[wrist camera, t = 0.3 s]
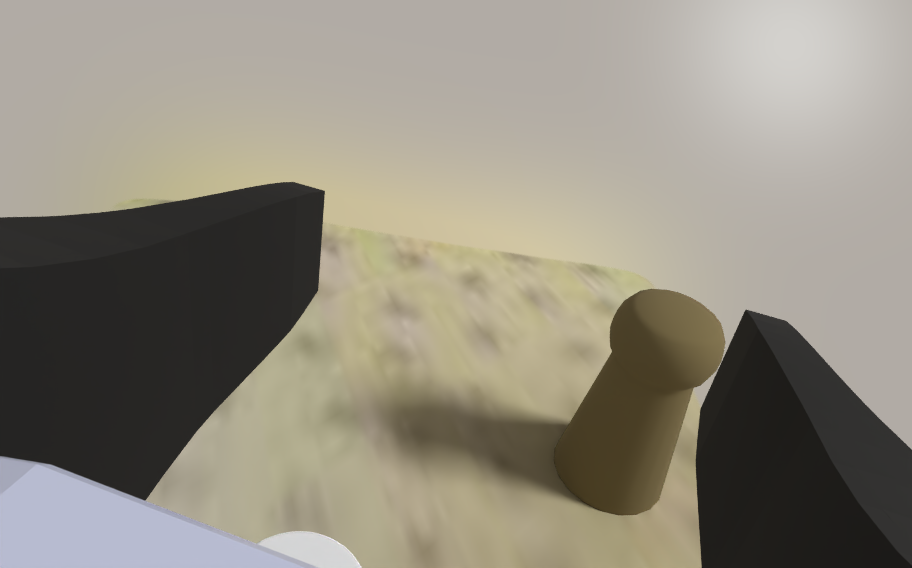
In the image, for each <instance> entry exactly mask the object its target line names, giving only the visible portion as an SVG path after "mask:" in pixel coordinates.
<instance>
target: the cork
mask: <svg viewBox="0 0 912 568" xmlns="http://www.w3.org/2000/svg"><path fill="white" fill-rule="evenodd" d="M610 347H611V349H612V353H611V355H610V356H609V358H608V360H607V361H606V363H605V365H604V366H603V368H602V370H601V371H600V373H599V375H598V376H597V378H596V380H595V381H594V383H593V385H592V386H591V388H590V390H589V391H588V393H587V395H586V397H585V398H584V400H583V402H582V403H581V405H580V407H579V408H578V410H577V412H576V413H575V415H574V417H573V418H572V420H571V422H570V423H569V425H568V427H567V428H566V430H565V432H564V433H563V435H562V437H561V438H560V440H559V442H558V444H557V446H556V448H555V456H554V463H555V466H556V469H557V472H558V474H559V477H560V478H561V479H562V481H563V482H564V484H565V485H566V486H567V488H568V489H569V490H570V491H571V492H572V493H573V494H575V495H576V496H577V497H578V498H579V499H581V500H582V501H583V502H585V503H587V504H589V505H591V506H592V507H594V508H596V509H598V510H600V511H604V512H608V513H612V514H616V515H636V514H639V513H641V512H644V511H647V510H649V509H651V507H652V506H653V505H654V504H655V503H656V502H657V501H658V500H659V498H660V495H661V491H662V488H663V485H664V482H665V478H666V475H667V472H668V469H669V465H670V462H671V459H672V456H673V452H674V449H675V446H676V443H677V440H678V436H679V433H680V430H681V427H682V423H683V420H684V417H685V414H686V410H687V407H688V404H689V401H690V397H691V394H692V391H693V388H694V387H697V386H700V385H701V384H702V383H704V382H705V381H706V380H707V379H708V378H709V377H710V376H711V375H712V374H713V373H714V372H715V371H716V370H717V368H718V366H719V364H720V363H721V360H722V356H723V352H724V347H725V338H724V333H723V329H722V326H721V323H720V322H719V320H718V319H717V318H716V316H715V315H714V314H713V313H712V312H711V311H709V310H708V309H707V308H706V307H705V306H704V305H702V304H701V303H699V302H698V301H696V300H694V299H692V298H691V297H688V296H686V295H683V294H681V293H678V292H673V291H669V290H659V289H648V290H643V291H639V292H638V293H636V294H634V295H633V296H631V297H629V298H628V299H626V300H625V301H624V302H623V303H622V304H621V306H620V307H619V308H618V310H617V312H616V314H615V316H614V318H613V321H612V323H611V326H610Z"/></svg>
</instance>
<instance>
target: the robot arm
mask: <svg viewBox="0 0 912 568" xmlns="http://www.w3.org/2000/svg"><path fill="white" fill-rule="evenodd" d="M324 194H325V191H323V190H319V189H316V188H312V187H309V186H305V185H302V184H298V183H295V182H283V183H275V184H267V185H261V186H255V187H249V188H244V189H239V190H234V191H229V192H224V193H219V194H214V195H208V196H203V197H198V198H193V199H188V200H182V201H176V202H170V203H164V204H158V205H152V206H146V207H140V208H133V209H126V210H118V211H110V212H101V213H90V214H79V215H67V216H49V217H7V218H6V217H5V218H0V568H318V567H316V566H313V565H310V564H308V563H305V562H303V561H300V560H298V559H295V558H292V557H290V556H287V555H285V554H282V553H279V552H277V551H274V550H272V549H269V548H266V547H264V546H261V545H259V544H256V543H253V542H251V541H248V540H246V539H243V538H240V537H238V536H235V535H233V534H230V533H227V532H225V531H222V530H220V529H217V528H214V527H212V526H209V525H207V524H204V523H201V522H199V521H196V520H194V519H191V518H188V517H186V516H183V515H181V514H178V513H175V512H173V511H170V510H168V509H165V508H162V507H160V506H157V505H155V504H152V503H149V502H147V501H145V500H146V499H147V498H148V496H149V495H150V493H151V492H152V491H153V489H154V488H155V486H156V485H157V483H158V482H159V481H160V479H161V478H162V476H163V475H164V474H165V472H166V471H167V470H168V468H169V467H170V466H171V464H172V463H173V462H174V460H175V459H176V458H177V457H178V455H179V454H180V453H181V451H182V450H183V449H184V447H185V446H186V445H187V443H188V442H189V441H190V439H191V438H192V437H193V435H194V434H195V433H196V432H197V430H198V429H199V428H200V427H201V426H202V425H203V423H204V422H205V421H206V420H207V419H208V418H209V417H210V415H211V414H212V413H213V412H214V411H215V410H216V409H217V408H218V407H219V406H220V405H221V404H222V403H223V402H224V400H225V399H226V398H227V397H228V396H229V395H230V394H231V393H232V392H233V391H234V390H235V389H236V388H237V387H238V386H239V385H240V384H241V383H242V382H243V381H244V380H245V379H246V377H247V376H248V375H249V374H250V373H251V372H252V371H253V370H254V369H255V368H256V367H257V366H258V365H259V364H260V363H261V362H262V361H263V360H264V359H265V358H266V357H267V355H268V354H269V353H270V352H271V351H272V350H273V349H274V348H275V347H276V346H277V345H278V344H279V343H280V342H281V341H282V339H283V338H284V337H285V336H286V335H287V334H288V333H289V332H290V331H291V329H292V328H293V326H294V325H295V324H296V322H297V321H298V320H299V318H300V317H301V315H302V314H303V313H304V311H305V309H306V308H307V306H308V305H309V303H310V302H311V300H312V299H313V297H314V296H315V294H316V293H317V291H318V283H319V269H320V254H321V239H322V224H323V209H324ZM696 478H697V497H698V514H699V529H700V545H701V561H702V568H912V450H911V449H910V448H909V447H908V446H907V445H906V444H905V443H904V442H903V441H902V440H901V439H900V438H899V437H898V436H897V435H896V434H895V433H894V432H893V431H892V430H891V429H889V428H888V427H887V426H886V425H885V424H884V423H883V422H882V421H881V420H880V419H879V418H878V417H877V416H876V415H875V414H874V413H873V412H872V411H871V410H870V409H869V408H868V407H867V406H866V405H865V404H864V403H863V402H862V400H861V399H860V398H859V397H858V396H857V395H856V394H855V393H854V392H853V391H852V390H851V389H850V388H849V387H848V386H847V385H846V383H845V382H844V381H843V380H842V379H841V378H840V377H839V376H838V375H837V374H836V373H835V372H834V371H833V369H832V368H831V367H830V366H829V365H828V364H827V363H826V362H825V360H824V359H823V358H822V357H821V356H820V355H819V354H818V353H817V352H816V350H815V349H814V348H813V347H812V346H811V345H810V344H809V343H808V342H807V341H806V340H805V339H804V338H803V336H801V334H800V333H799V332H798V331H797V330H796V329H795V328H793V326H791V325H790V324H789V323H788V322H787V321H784V320H781V319H777V318H774V317H770V316H767V315H763V314H760V313H756V312H752V311H749V310H745V312H744V314H743V316H742V319H741V321H740V323H739V325H738V328H737V330H736V332H735V334H734V336H733V339H732V341H731V343H730V345H729V347H728V350H727V352H726V354H725V356H724V358H723V361H722V363H721V365H720V367H719V369H718V372H717V374H716V376H715V378H714V380H713V383H712V385H711V387H710V389H709V391H708V394H707V396H706V398H705V401H704V403H703V405H702V407H701V410H700V420H699V429H698V439H697V451H696Z"/></svg>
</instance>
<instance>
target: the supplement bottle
mask: <svg viewBox="0 0 912 568" xmlns="http://www.w3.org/2000/svg"><path fill="white" fill-rule="evenodd" d="M256 544H259V545H261V546H264V547H266V548H269V549H272V550H274V551H277V552H279V553H282V554H285V555H287V556H290V557H292V558H295V559H298V560H300V561H303V562H305V563H308V564H310V565H313V566H316V567H318V568H361V566H360V564H359V562H358V561H357V559H356V558H355V556H354V555H353V554H352V553H351V552H350V551H349V550H348V549H347V548H346V547H345V546H343V545H342V544H340V543H339V542H337V541H336V540H334V539H332V538H330V537H327V536H325V535H322V534H318V533H314V532H306V531H293V532H285V533H280V534H277V535H274V536H271V537H268V538H266V539H264V540H262V541H260V542H258V543H256Z"/></svg>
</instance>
